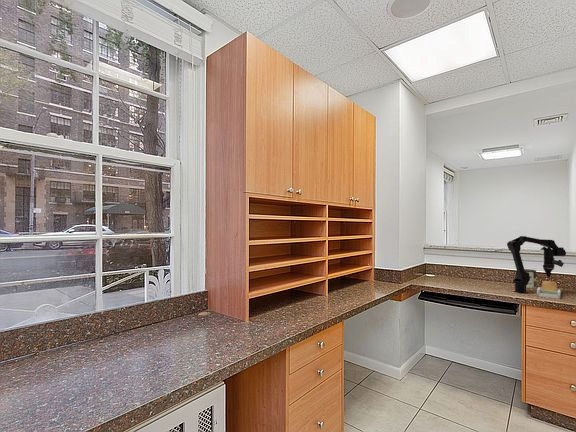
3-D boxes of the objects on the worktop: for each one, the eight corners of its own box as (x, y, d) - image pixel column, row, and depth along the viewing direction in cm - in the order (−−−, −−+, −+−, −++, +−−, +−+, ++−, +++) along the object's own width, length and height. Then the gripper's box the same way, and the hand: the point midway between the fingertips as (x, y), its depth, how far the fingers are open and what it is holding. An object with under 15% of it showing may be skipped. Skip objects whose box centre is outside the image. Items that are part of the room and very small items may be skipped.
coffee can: (530, 285, 258) (529, 269, 259) (539, 288, 248) (539, 270, 248) (517, 285, 258) (517, 269, 259) (527, 288, 248) (526, 270, 248)
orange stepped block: (556, 291, 225) (556, 282, 225) (542, 289, 230) (542, 281, 230) (556, 289, 229) (556, 281, 229) (542, 288, 235) (542, 280, 235)
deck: (560, 298, 212) (559, 292, 212) (537, 295, 220) (536, 289, 220) (561, 292, 232) (560, 286, 233) (540, 289, 241) (539, 284, 241)
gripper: (563, 257, 218) (563, 279, 218) (563, 256, 232) (563, 276, 232) (542, 256, 226) (543, 277, 225) (544, 255, 240) (544, 274, 239)
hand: (549, 276), depth 230 cm, fingers open, 9 cm apart
